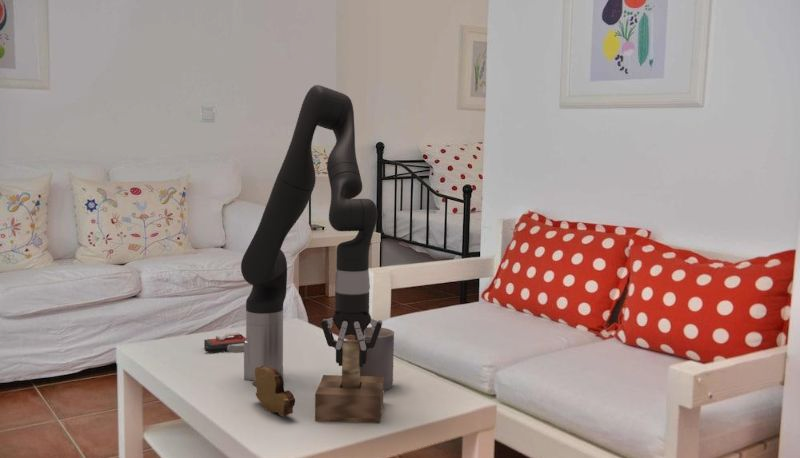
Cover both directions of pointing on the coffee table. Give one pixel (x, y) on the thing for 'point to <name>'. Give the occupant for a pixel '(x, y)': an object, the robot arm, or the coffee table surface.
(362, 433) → the coffee table surface
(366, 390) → the socket block
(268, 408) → the wooden carving
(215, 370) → the coffee table surface
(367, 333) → the pillar candle
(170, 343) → the coffee table surface
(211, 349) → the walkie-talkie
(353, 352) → the peg
